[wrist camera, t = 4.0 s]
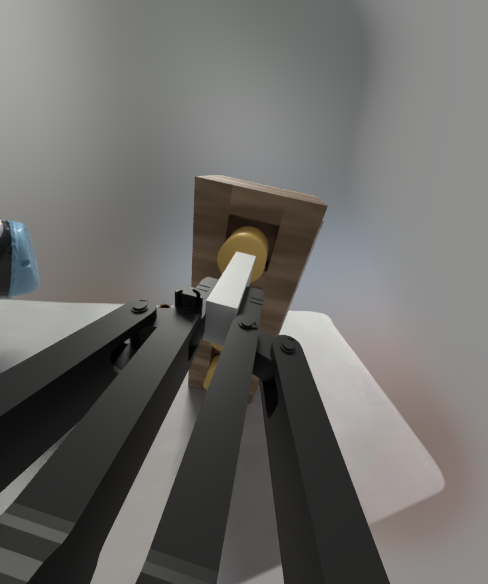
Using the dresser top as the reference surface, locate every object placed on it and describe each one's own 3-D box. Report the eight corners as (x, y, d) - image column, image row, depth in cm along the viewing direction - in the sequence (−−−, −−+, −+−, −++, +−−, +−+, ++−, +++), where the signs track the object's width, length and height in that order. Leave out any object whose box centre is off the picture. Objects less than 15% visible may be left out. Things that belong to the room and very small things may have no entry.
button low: (229, 399, 27) (233, 383, 25) (202, 391, 27) (204, 375, 25) (235, 374, 31) (239, 358, 28) (211, 368, 31) (213, 351, 29)
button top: (258, 288, 17) (270, 245, 15) (215, 277, 17) (219, 233, 15) (263, 269, 20) (273, 231, 18) (226, 260, 20) (231, 221, 18)
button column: (254, 404, 35) (335, 207, 17) (188, 385, 36) (194, 176, 17) (259, 366, 42) (321, 197, 23) (203, 351, 43) (219, 175, 24)
